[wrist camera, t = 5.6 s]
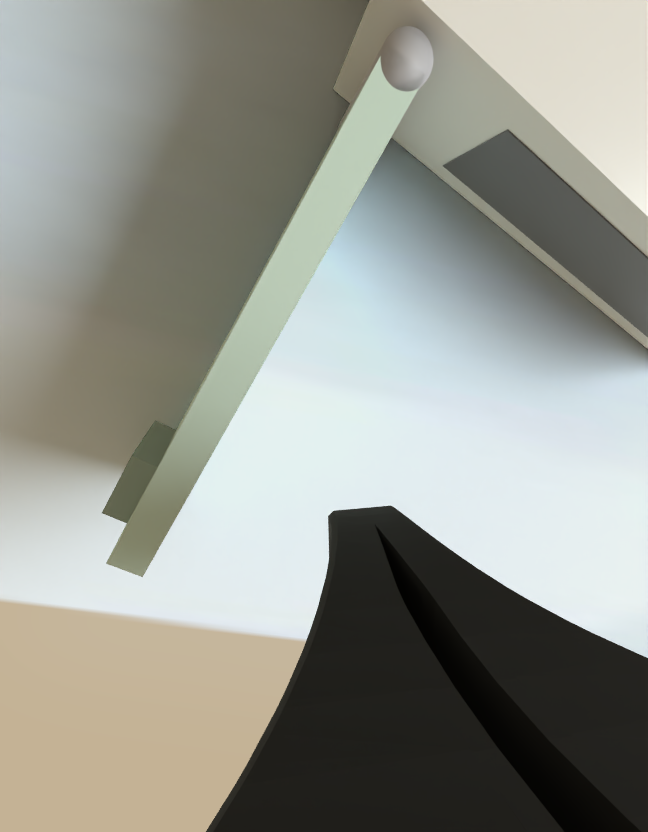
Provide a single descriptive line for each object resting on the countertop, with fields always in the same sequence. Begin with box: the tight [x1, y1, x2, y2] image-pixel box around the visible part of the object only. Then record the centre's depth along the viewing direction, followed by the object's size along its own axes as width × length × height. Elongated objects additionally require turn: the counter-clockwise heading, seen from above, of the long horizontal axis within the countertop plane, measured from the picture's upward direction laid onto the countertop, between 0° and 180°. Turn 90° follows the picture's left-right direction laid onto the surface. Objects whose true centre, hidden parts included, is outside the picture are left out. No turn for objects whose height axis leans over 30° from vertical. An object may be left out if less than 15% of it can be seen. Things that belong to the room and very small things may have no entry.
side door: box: [102, 26, 433, 577], centre depth 10 cm, size 1×11×4 cm, turn 149°
